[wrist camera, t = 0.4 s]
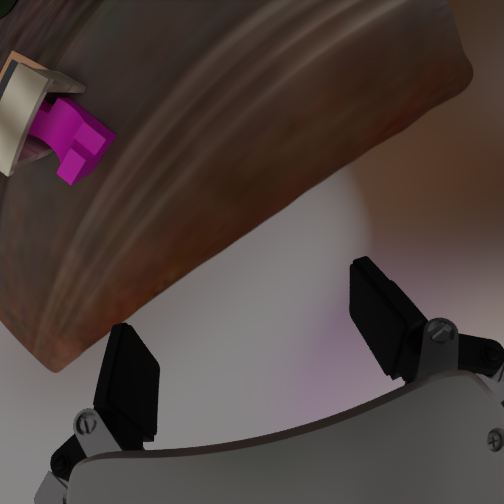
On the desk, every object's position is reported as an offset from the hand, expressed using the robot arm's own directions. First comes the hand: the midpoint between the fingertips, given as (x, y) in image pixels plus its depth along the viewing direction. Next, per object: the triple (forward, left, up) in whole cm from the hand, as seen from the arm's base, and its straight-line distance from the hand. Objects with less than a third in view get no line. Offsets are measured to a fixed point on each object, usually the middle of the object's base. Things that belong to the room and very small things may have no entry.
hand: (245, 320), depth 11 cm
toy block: (+6, -22, -30) cm, 37 cm away
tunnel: (+6, -26, -29) cm, 39 cm away
